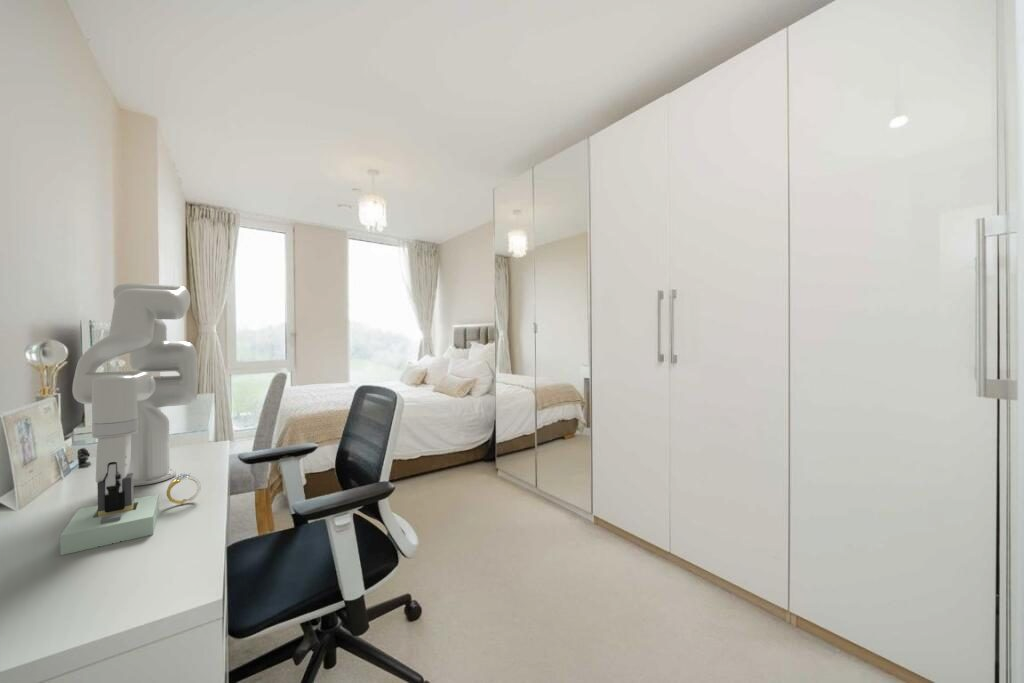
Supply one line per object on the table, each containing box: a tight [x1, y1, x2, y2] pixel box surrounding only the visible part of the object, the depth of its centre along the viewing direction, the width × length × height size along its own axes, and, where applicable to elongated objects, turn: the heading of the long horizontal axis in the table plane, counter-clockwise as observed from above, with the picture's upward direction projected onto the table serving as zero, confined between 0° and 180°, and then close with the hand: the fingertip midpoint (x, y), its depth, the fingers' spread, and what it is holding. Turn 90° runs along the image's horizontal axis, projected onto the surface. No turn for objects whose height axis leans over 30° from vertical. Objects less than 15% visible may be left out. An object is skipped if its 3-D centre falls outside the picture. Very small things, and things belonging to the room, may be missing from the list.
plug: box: [96, 473, 135, 517], centre depth 93 cm, size 4×6×9 cm
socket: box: [59, 494, 160, 556], centre depth 92 cm, size 16×14×5 cm
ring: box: [166, 472, 202, 505], centre depth 106 cm, size 7×3×8 cm, turn 125°
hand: (116, 506), depth 93 cm, fingers closed on plug, 4 cm apart
